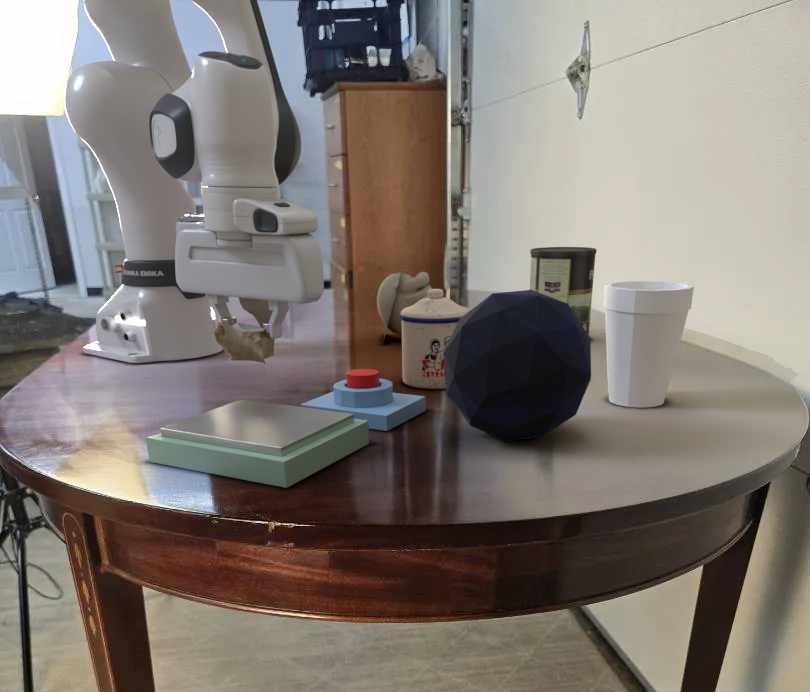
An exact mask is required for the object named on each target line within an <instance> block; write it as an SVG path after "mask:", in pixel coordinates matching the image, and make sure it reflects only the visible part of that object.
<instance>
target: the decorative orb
mask: <svg viewBox="0 0 810 692" xmlns="http://www.w3.org/2000/svg"><path fill="white" fill-rule="evenodd" d="M469 310H470V311H469V312H468V313H466V314H465V315H464V316H463V317H461V318H460V319H459V321H458V323H457V325H456V327H455V329H454V331H453V334H452V336H451V338H450V340H449V342H448V344H447V346H446V348H445V351H444V353H443V357H444V370H445V382H446V389H445V391H446V395H447V397H448V398H449V400H450V401H451V402H452V403H453V405H454V406H455V407H456V409H457V411H458V412H459V413H460V414H461V416H462V417H463V418H464V420H465V421H466V422H467V424H468V425H469V426H470V427H472V428H474V429H476V430H479V431H481V432H483V433H484V434H487V435H489V436H491V437H493V438H495V439H497V440H500V441H501V442H504V443H505V442H511V441H518V440H525V439H531V438H532V439H533V438H537V437H538V438H539V437H544V436H545V435H547V434H549V433H550V432H551V431H553V430H554V429H556V428H558V427H559V426H561V425H563V424H564V423H565V422H567V421H568V420H570V419H572V418H573V417H575V416H577V413H578V411H579V408H580V407H581V404H582V401H583V400H584V396H585V395H586V392H587V389H588V387H589V385H590V382H591V380H592V379H591V378H592V356H591V355H592V351H591V350H592V347H591V345H592V343H591V341H592V340H591V336H590V334H589V335H588V334H587V332H586V330H585V329H584V327H583V326H582V324H581V323H580V321H579V320H578V318H577V317H576V315H575V314H574V312H573V311H572V309H571V308H570V306H569V305H568V303H565V302H562V301H560V300H557V299H554V298H552V297H549V296H546V295H544V294H541V293H538V292H536V291H533V290H530V289H526V290H525V289H524V290H514V291H504V292H493V293H491V294H490V295H489V296H487V297H486V298H484V299H483V300H482V301H481V302H479V303H478V304H477V305H475V306H474V307H473V308H471V309H469Z"/></svg>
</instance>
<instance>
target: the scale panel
mask: <svg viewBox="0 0 810 692" xmlns="http://www.w3.org/2000/svg"><path fill="white" fill-rule="evenodd" d="M393 390H394V389H393V382H392V381H391V380H388V379H385V378H379V387H376V388H369V389H353V388H348V387H347V379H341V380H340V381H338V382H335V383H334V384H333V391H331V392H328V393H326V394H323V395H320V396H318V397H316V398H313V399H311V400H308V401H306V402H303V403H301V404H300V407H305V408H313V409H320V410H328V411H335V412H343V413H351V414H354V419H361V420H368V422H369V430H377V431H384V432H388V431H391V430H392V429H394V428H396V427H398V426H400V425H402V424H403V423H405V422H407V421H409V420H412V418H415V417H416V416H419V415H420V414H422V413H424V412H426V396H425V395H416V394H410V393H409V394H408V393H407V394H406V393H399V392H393Z"/></svg>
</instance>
